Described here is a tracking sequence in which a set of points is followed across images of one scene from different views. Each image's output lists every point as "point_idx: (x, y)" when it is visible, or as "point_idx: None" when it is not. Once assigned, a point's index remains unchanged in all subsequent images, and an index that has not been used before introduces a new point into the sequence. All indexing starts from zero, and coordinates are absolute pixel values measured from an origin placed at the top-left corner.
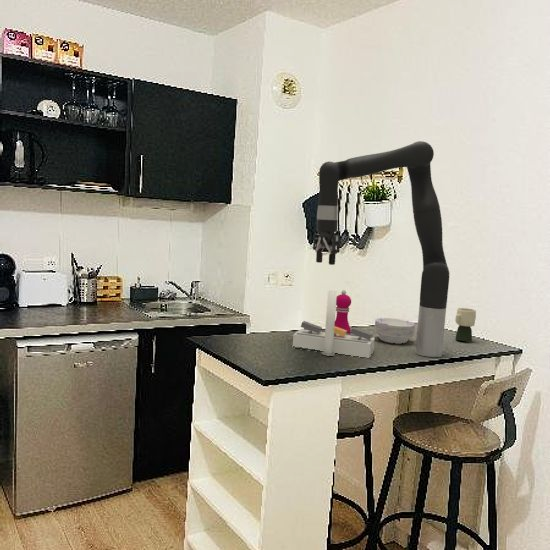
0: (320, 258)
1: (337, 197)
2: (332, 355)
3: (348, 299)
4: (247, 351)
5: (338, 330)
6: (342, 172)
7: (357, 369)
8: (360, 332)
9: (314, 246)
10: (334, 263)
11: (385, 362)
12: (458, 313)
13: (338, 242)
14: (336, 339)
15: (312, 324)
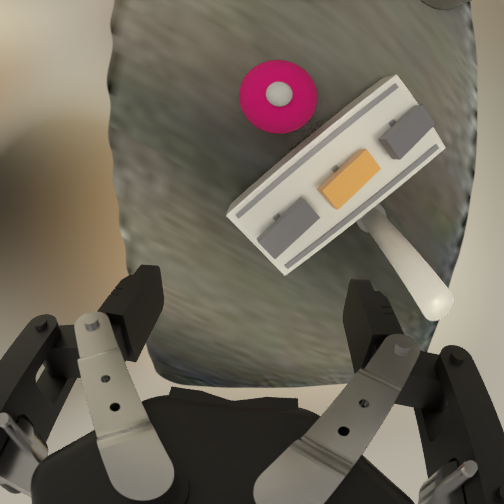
0: (149, 298)
1: None
2: (385, 215)
3: (315, 92)
4: (275, 348)
5: (365, 182)
6: None
7: (464, 224)
8: (415, 142)
9: (64, 391)
10: (368, 284)
11: (459, 130)
12: None
13: (492, 443)
14: (376, 198)
15: (286, 226)
